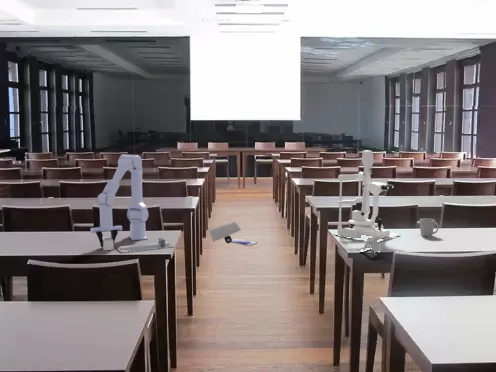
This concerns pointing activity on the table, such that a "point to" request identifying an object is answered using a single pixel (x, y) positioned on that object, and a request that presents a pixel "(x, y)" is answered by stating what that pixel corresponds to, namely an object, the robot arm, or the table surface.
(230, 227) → the grey tilted panel
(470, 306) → the table surface
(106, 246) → the block
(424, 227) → the cup
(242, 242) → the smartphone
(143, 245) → the rail
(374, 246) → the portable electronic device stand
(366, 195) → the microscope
